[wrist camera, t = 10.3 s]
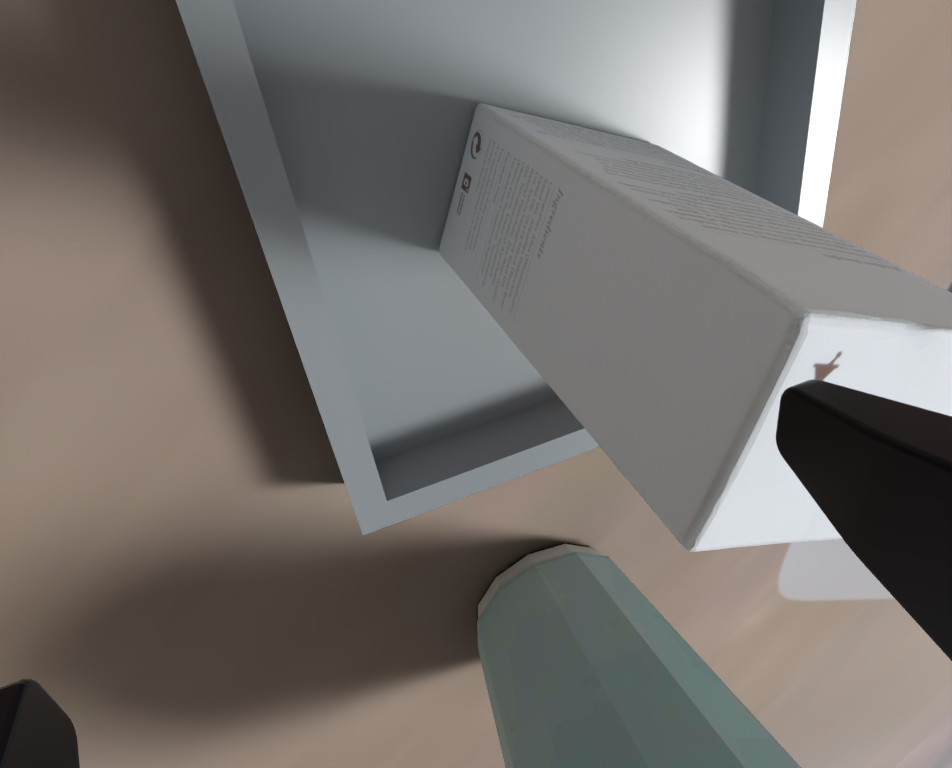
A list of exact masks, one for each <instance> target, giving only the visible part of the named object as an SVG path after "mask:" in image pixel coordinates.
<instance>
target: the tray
mask: <svg viewBox="0 0 952 768" xmlns="http://www.w3.org/2000/svg"><path fill="white" fill-rule="evenodd" d="M176 3H177V6H178V9H179V12H180V15H181V17H182V20H183V23H184V26H185V29H186V32H187V35H188V37H189V40H190V43H191V46H192V49H193V52H194V55H195V57H196V60H197V63H198V66H199V69H200V72H201V75H202V77H203V80H204V83H205V86H206V89H207V92H208V95H209V97H210V100H211V103H212V106H213V109H214V112H215V115H216V117H217V120H218V123H219V126H220V129H221V132H222V135H223V137H224V140H225V143H226V146H227V149H228V152H229V155H230V157H231V160H232V163H233V166H234V169H235V172H236V175H237V177H238V180H239V183H240V186H241V189H242V192H243V195H244V197H245V200H246V203H247V206H248V209H249V212H250V215H251V217H252V220H253V223H254V226H255V229H256V232H257V235H258V237H259V240H260V243H261V246H262V249H263V252H264V255H265V257H266V260H267V263H268V266H269V269H270V272H271V275H272V277H273V280H274V283H275V286H276V289H277V292H278V295H279V297H280V300H281V303H282V306H283V309H284V312H285V315H286V317H287V320H288V323H289V326H290V329H291V332H292V335H293V337H294V340H295V343H296V346H297V349H298V352H299V355H300V357H301V360H302V363H303V366H304V369H305V372H306V375H307V377H308V380H309V383H310V386H311V389H312V392H313V395H314V397H315V400H316V403H317V406H318V409H319V412H320V415H321V417H322V420H323V423H324V426H325V429H326V432H327V435H328V437H329V440H330V443H331V446H332V449H333V452H334V455H335V457H336V460H337V463H338V466H339V469H340V472H341V475H342V477H343V480H344V483H345V486H346V489H347V492H348V495H349V497H350V500H351V503H352V506H353V509H354V512H355V515H356V517H357V520H358V523H359V526H360V529H361V532H362V535H366V534H369V533H371V532H374V531H377V530H379V529H382V528H385V527H387V526H390V525H393V524H395V523H398V522H400V521H403V520H406V519H408V518H411V517H414V516H416V515H419V514H422V513H424V512H427V511H430V510H432V509H435V508H438V507H440V506H443V505H446V504H448V503H451V502H454V501H456V500H459V499H462V498H464V497H467V496H469V495H472V494H475V493H477V492H480V491H483V490H485V489H488V488H491V487H493V486H496V485H499V484H501V483H504V482H507V481H509V480H512V479H515V478H517V477H520V476H523V475H525V474H528V473H531V472H533V471H536V470H538V469H541V468H544V467H546V466H549V465H552V464H554V463H557V462H560V461H562V460H565V459H568V458H570V457H573V456H576V455H578V454H581V453H584V452H586V451H589V450H592V449H594V448H597V447H600V446H599V445H598V444H597V442H596V441H595V440H594V439H593V438H592V436H591V435H590V434H589V433H588V432H587V430H586V429H585V428H584V427H583V425H582V424H581V423H580V422H579V421H578V420H577V418H576V417H575V416H574V415H573V414H572V412H571V411H570V410H569V409H568V408H567V406H566V405H565V404H564V403H563V401H562V400H561V399H560V398H559V397H558V395H557V394H556V393H555V392H554V391H553V389H552V388H551V387H550V386H549V385H548V383H547V382H546V381H545V379H544V378H543V377H542V376H541V375H540V374H539V373H538V372H537V371H536V369H535V368H534V367H533V366H532V365H531V363H530V362H529V361H528V360H527V358H526V357H525V356H524V355H523V354H522V352H521V351H520V350H519V349H518V348H517V346H516V345H515V344H514V343H513V341H512V340H511V339H510V338H509V337H508V335H507V334H506V333H505V332H504V331H503V329H502V328H501V327H500V326H499V325H498V323H497V322H496V321H495V320H494V318H493V317H492V316H491V315H490V314H489V312H488V311H487V310H486V309H485V308H484V306H483V305H482V304H481V303H480V302H479V301H478V299H477V298H476V297H475V296H474V294H473V293H472V292H471V291H470V290H469V288H468V287H467V286H466V285H465V284H464V282H463V281H462V280H461V279H460V278H459V276H458V275H457V274H456V273H455V272H454V270H453V269H452V268H451V267H450V265H449V264H448V263H447V262H446V261H445V260H444V259H443V257H442V256H441V254H440V252H439V248H440V244H441V239H442V235H443V232H444V228H445V225H446V221H447V217H448V213H449V209H450V206H451V202H452V198H453V195H454V190H455V186H456V183H457V179H458V175H459V171H460V168H461V164H462V159H463V155H464V151H465V148H466V144H467V140H468V136H469V132H470V128H471V124H472V121H473V117H474V113H475V109H476V107H477V105H478V104H479V103H483V104H487V105H491V106H495V107H499V108H504V109H508V110H512V111H516V112H521V113H525V114H529V115H533V116H538V117H542V118H546V119H550V120H555V121H559V122H563V123H567V124H571V125H576V126H580V127H584V128H588V129H592V130H596V131H600V132H604V133H609V134H613V135H617V136H622V137H626V138H630V139H634V140H638V141H642V142H646V143H650V144H654V145H658V146H660V147H662V148H664V149H666V150H668V151H670V152H672V153H674V154H676V155H678V156H680V157H682V158H684V159H686V160H688V161H690V162H692V163H694V164H695V165H697V166H699V167H701V168H704V169H706V170H708V171H710V172H711V173H713V174H715V175H717V176H719V177H721V178H723V179H725V180H727V181H729V182H731V183H733V184H735V185H737V186H739V187H741V188H743V189H745V190H747V191H749V192H751V193H753V194H755V195H757V196H759V197H761V198H763V199H765V200H767V201H769V202H771V203H773V204H775V205H777V206H779V207H781V208H783V209H785V210H788V211H790V212H792V213H794V214H796V215H798V216H800V217H802V218H804V219H806V220H808V221H810V222H812V223H814V224H816V225H818V226H820V227H822V228H823V222H824V215H825V208H826V202H827V195H828V188H829V182H830V175H831V168H832V161H833V155H834V148H835V141H836V134H837V128H838V121H839V114H840V107H841V101H842V94H843V87H844V81H845V74H846V67H847V60H848V54H849V47H850V40H851V33H852V27H853V20H854V13H855V6H856V0H176Z"/></svg>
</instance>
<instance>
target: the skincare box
mask: <svg viewBox="0 0 952 768" xmlns="http://www.w3.org/2000/svg"><path fill="white" fill-rule="evenodd" d="M439 252H440V254H441V256H442V257H443V259H444V260H445V261H446V262H447V263H448V264H449V265H450V267H451V268H452V269H453V270H454V272H455V273H456V274H457V275H458V276H459V278H460V279H461V280H462V281H463V282H464V284H465V285H466V286H467V287H468V288H469V290H470V291H471V292H472V293H473V294H474V296H475V297H476V298H477V299H478V301H479V302H480V303H481V304H482V305H483V306H484V308H485V309H486V310H487V311H488V312H489V314H490V315H491V316H492V317H493V318H494V320H495V321H496V322H497V323H498V325H499V326H500V327H501V328H502V329H503V331H504V332H505V333H506V334H507V335H508V337H509V338H510V339H511V340H512V341H513V343H514V344H515V345H516V346H517V348H518V349H519V350H520V351H521V352H522V354H523V355H524V356H525V357H526V358H527V360H528V361H529V362H530V363H531V365H532V366H533V367H534V368H535V369H536V371H537V372H538V373H539V374H540V375H541V376H542V377H543V378H544V379H545V381H546V382H547V383H548V385H549V386H550V387H551V388H552V389H553V391H554V392H555V393H556V394H557V395H558V397H559V398H560V399H561V400H562V401H563V403H564V404H565V405H566V406H567V408H568V409H569V410H570V411H571V412H572V414H573V415H574V416H575V417H576V418H577V420H578V421H579V422H580V423H581V424H582V425H583V427H584V428H585V429H586V430H587V432H588V433H589V434H590V435H591V436H592V438H593V439H594V440H595V441H596V442H597V444H598V445H599V446H600V447H601V448H602V450H603V451H604V452H605V453H606V454H607V456H608V457H609V458H610V459H611V460H612V462H613V463H614V464H615V465H616V467H617V468H618V469H619V470H620V471H621V473H622V474H623V475H624V476H625V477H626V479H627V480H628V481H629V482H630V483H631V485H632V486H633V487H634V488H635V489H636V490H637V492H638V493H639V494H640V495H641V496H642V498H643V499H644V500H645V501H646V502H647V504H648V505H649V506H650V507H651V508H652V510H653V511H654V512H655V513H656V514H657V516H658V517H659V518H660V519H661V520H662V522H663V523H664V524H665V525H666V527H667V528H668V529H669V530H670V531H671V533H672V534H673V535H674V536H675V538H676V539H677V540H678V541H679V542H680V543H681V545H682V546H683V547H684V548H685V549H686V550H689V551H691V552H695V551H707V550H716V549H725V548H735V547H746V546H757V545H767V544H779V543H792V542H807V541H819V540H833V539H843V538H842V537H841V536H840V535H839V533H838V532H837V531H836V529H835V528H834V526H833V525H832V524H831V522H830V521H829V520H828V518H827V517H826V516H825V514H824V513H823V512H822V510H821V509H820V508H819V506H818V505H817V503H816V502H815V501H814V499H813V498H812V497H811V495H810V494H809V493H808V491H807V490H806V489H805V487H804V486H803V485H802V483H801V482H800V480H799V479H798V478H797V476H796V475H795V474H794V472H793V471H792V470H791V468H790V467H789V466H788V464H787V463H786V462H785V460H784V459H783V457H782V456H781V454H780V452H779V450H778V447H777V444H776V429H777V421H778V413H779V406H780V399H781V395H782V394H783V392H784V391H785V390H786V389H787V388H789V387H792V386H794V385H797V384H799V383H802V382H805V381H807V380H812V379H817V380H822V381H826V382H829V383H833V384H836V385H840V386H844V387H847V388H851V389H855V390H858V391H862V392H865V393H869V394H873V395H876V396H880V397H884V398H887V399H891V400H894V401H898V402H902V403H905V404H909V405H913V406H916V407H920V408H923V409H927V410H931V411H934V412H938V413H941V414H945V415H949V416H952V293H950V292H948V291H946V290H944V289H942V288H941V287H939V286H937V285H935V284H933V283H931V282H929V281H927V280H925V279H923V278H921V277H920V276H918V275H916V274H914V273H912V272H910V271H908V270H906V269H904V268H902V267H900V266H898V265H896V264H894V263H892V262H890V261H888V260H886V259H884V258H882V257H880V256H878V255H876V254H874V253H872V252H870V251H868V250H866V249H864V248H862V247H860V246H858V245H856V244H854V243H852V242H850V241H848V240H846V239H844V238H842V237H840V236H838V235H836V234H834V233H832V232H830V231H828V230H826V229H824V228H822V227H820V226H818V225H816V224H814V223H812V222H810V221H808V220H806V219H804V218H802V217H800V216H798V215H796V214H794V213H792V212H790V211H788V210H785V209H783V208H781V207H779V206H777V205H775V204H773V203H771V202H769V201H767V200H765V199H763V198H761V197H759V196H757V195H755V194H753V193H751V192H749V191H747V190H745V189H743V188H741V187H739V186H737V185H735V184H733V183H731V182H729V181H727V180H725V179H723V178H721V177H719V176H717V175H715V174H713V173H711V172H710V171H708V170H706V169H704V168H701V167H699V166H697V165H695V164H694V163H692V162H690V161H688V160H686V159H684V158H682V157H680V156H678V155H676V154H674V153H672V152H670V151H668V150H666V149H664V148H662V147H660V146H658V145H654V144H650V143H646V142H642V141H638V140H634V139H630V138H626V137H622V136H617V135H613V134H609V133H604V132H600V131H596V130H592V129H588V128H584V127H580V126H576V125H571V124H567V123H563V122H559V121H555V120H550V119H546V118H542V117H538V116H533V115H529V114H525V113H521V112H516V111H512V110H508V109H504V108H499V107H495V106H491V105H487V104H483V103H479V104H478V105H477V107H476V109H475V113H474V117H473V121H472V124H471V128H470V132H469V136H468V140H467V144H466V148H465V151H464V155H463V159H462V164H461V168H460V171H459V175H458V179H457V183H456V186H455V190H454V195H453V198H452V202H451V206H450V209H449V213H448V217H447V221H446V225H445V228H444V232H443V235H442V239H441V244H440V248H439Z"/></svg>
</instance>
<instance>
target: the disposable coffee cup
mask: <svg viewBox="0 0 952 768" xmlns="http://www.w3.org/2000/svg"><path fill="white" fill-rule="evenodd" d="M477 635H478V651H479V655H480V659H481V663H482V668H483V672H484V676H485V681H486V685H487V689H488V693H489V698H490V702H491V706H492V711H493V715H494V719H495V724H496V728H497V732H498V736H499V741H500V745H501V749H502V754H503V758H504V762H505V767H506V768H801V767H800V766H799V765H798V764H797V763H796V761H795V760H794V759H793V758H792V757H791V756H790V755H789V754H788V753H787V752H786V751H785V749H784V748H783V747H782V746H781V745H780V744H779V743H778V742H777V741H776V740H775V738H774V737H773V736H772V735H771V734H770V733H769V732H768V731H767V730H766V729H765V728H764V726H763V725H762V724H761V723H760V722H759V721H758V720H757V719H756V718H755V717H754V715H753V714H752V713H751V712H750V711H749V710H748V709H747V708H746V707H745V706H744V705H743V703H742V702H741V701H740V700H739V699H738V698H737V697H736V696H735V695H734V694H733V692H732V691H731V690H730V689H729V688H728V687H727V686H726V685H725V684H724V683H723V682H722V680H721V679H720V678H719V677H718V676H717V675H716V674H715V673H714V672H713V671H712V669H711V668H710V667H709V666H708V665H707V664H706V663H705V662H704V661H703V660H702V659H701V657H700V656H699V655H698V654H697V653H696V652H695V651H694V650H693V649H692V648H691V646H690V645H689V644H688V643H687V642H686V641H685V640H684V639H683V638H682V637H681V636H680V634H679V633H678V632H677V631H676V630H675V629H674V628H673V627H672V626H671V625H670V624H669V622H668V621H667V620H666V619H665V618H664V617H663V616H662V615H661V614H660V613H659V611H658V610H657V609H656V608H655V607H654V606H653V605H652V604H651V603H650V602H649V601H648V599H647V598H646V597H645V596H644V595H643V594H642V593H641V592H640V591H639V590H638V588H637V587H636V586H635V585H634V584H633V583H632V582H631V581H630V580H629V579H628V578H627V576H626V575H625V574H624V573H623V572H622V571H621V570H620V569H619V568H618V567H617V565H616V564H615V563H614V562H613V561H612V560H611V559H610V558H609V557H608V556H601V555H600V554H599V553H598V552H597V551H596V550H595V549H594V548H589V547H582V546H576V545H569V544H563V545H559V546H556V547H552V548H549V549H545V550H542V551H539V552H535V553H532V554H528V555H527V556H525V557H524V558H523V559H521V560H520V561H518V562H517V563H516V564H514V565H513V566H511V567H510V568H509V569H507V570H506V571H504V572H503V573H501V574H500V575H499V576H497V577H496V578H495V580H494V581H493V583H492V584H491V586H490V587H489V589H488V590H487V592H486V594H485V595H484V597H483V598H482V600H481V601H480V603H479V604H478V621H477Z"/></svg>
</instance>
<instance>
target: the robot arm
mask: <svg viewBox="0 0 952 768" xmlns="http://www.w3.org/2000/svg"><path fill="white" fill-rule="evenodd" d="M776 444H777V447H778V450H779V452H780V454H781V456H782V457H783V459H784V460H785V462H786V463H787V464H788V466H789V467H790V468H791V470H792V471H793V472H794V474H795V475H796V476H797V478H798V479H799V480H800V482H801V483H802V485H803V486H804V487H805V489H806V490H807V491H808V493H809V494H810V495H811V497H812V498H813V499H814V501H815V502H816V503H817V505H818V506H819V508H820V509H821V510H822V512H823V513H824V514H825V516H826V517H827V518H828V520H829V521H830V522H831V524H832V525H833V526H834V528H835V529H836V531H837V532H838V533H839V535H840V536H841V537H842V538H843V539H844V541H845V542H846V543H847V544H848V546H849V547H850V548H851V549H852V551H853V552H854V553H855V554H856V556H857V557H858V558H859V559H860V560H861V561H862V562H863V563H864V565H865V566H866V567H867V568H868V569H869V570H870V571H871V572H872V574H873V575H874V576H875V577H876V578H877V579H878V580H879V581H880V582H881V584H882V585H883V586H884V587H885V588H886V589H887V590H888V591H889V592H890V593H891V594H892V596H893V597H894V598H895V599H896V600H897V601H898V602H899V603H900V604H901V606H902V607H903V608H904V609H905V610H906V611H907V612H908V613H909V614H910V615H911V617H912V618H913V619H914V620H915V621H916V622H917V623H918V624H919V625H920V627H921V628H922V629H923V630H924V631H925V632H926V633H927V634H928V635H929V636H930V638H931V639H932V640H933V641H934V642H935V643H936V644H937V645H938V646H939V647H940V649H941V650H942V651H943V652H944V653H945V654H946V655H947V656H948V657H949V658H950V660H951V661H952V416H949V415H945V414H941V413H938V412H934V411H931V410H927V409H923V408H920V407H916V406H913V405H909V404H905V403H902V402H898V401H894V400H891V399H887V398H884V397H880V396H876V395H873V394H869V393H865V392H862V391H858V390H855V389H851V388H847V387H844V386H840V385H836V384H833V383H829V382H826V381H822V380H817V379H812V380H807V381H805V382H802V383H799V384H797V385H794V386H792V387H789V388H787V389H786V390H785V391H784V392H783V394H782V395H781V399H780V406H779V413H778V421H777V429H776ZM0 768H80V767H79V755H78V743H77V736H76V732H75V728H74V726H73V723H72V721H71V720H70V718H69V717H68V715H67V714H66V713H65V712H64V711H63V710H62V709H61V708H60V707H59V705H58V704H57V703H56V702H55V701H54V700H53V699H52V698H51V697H50V695H49V694H48V693H47V692H46V691H45V690H44V689H43V688H42V687H41V685H40V684H38V683H37V682H36V681H34V680H32V679H22V680H20V681H17V682H14V683H12V684H9V685H6V686H4V687H1V688H0Z"/></svg>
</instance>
